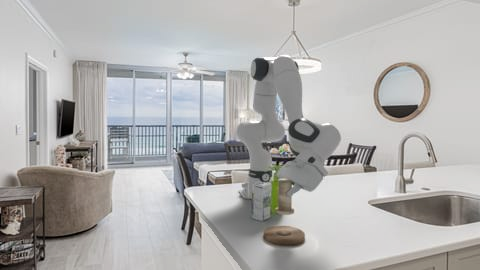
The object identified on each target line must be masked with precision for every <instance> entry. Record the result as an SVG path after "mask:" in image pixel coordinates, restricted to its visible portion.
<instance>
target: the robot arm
mask: <svg viewBox="0 0 480 270" xmlns="http://www.w3.org/2000/svg"><path fill="white" fill-rule="evenodd" d="M250 75H251V78H252V79H253V80H254V81H255V85H254V92H253V100H252V101H253V103H252V109H253V110H254V112H255V113H257V114H258V115H260V116H261V120H248V121H243V122H240V123H239V124H238V126H237V127H236V136H237V139H238V140H239V141H240V142H241V143H242V144H243V145H244V146H245V147H246V149H247V151H248V154H249V169H248V174H247V175H248V176H247V177H246V178H245V179H244V180H243V183H241V188H240V189H238V193H239V194H240V195H241V196H242V198H243V199H247V200H249V199H250V200H252V184H254V183H258V182H267V183H270V184H271V181H273V180H274V177H273V175H274V172H273V168H272V169H270V168H269V167H270V166H273V165H272V161H273V160H272V159H273V158H272V154H271V153H270V151H268V150H266V149H265V148H264V147H263V145H262V144H263V143H274V142H275V143H276V142H279V141H282V140H283V139H284V138H285V135H286V128H285V126H284V123H282V121H280V120H279V118H278V116H277V112H276V105H277V104H276V103H277V95H278V97H279V100H280V102H281V104H282V106H283V109H284V111H285V113H286V117H287V119H288V123H289V125H288V128H287V134H288V140H289V149H290V152H291V153H292V154H293V155H294V156H296V157H295V159H292V160H290V161H286V163H284V164H283V165H282V166H281V168H280V170H279V171H278V172H277V174H276V176H277V177H278V178H279V179H289V180H292V188H291V189H290V190H289V189H288V190H287V192H286V195H287V196H289V197H291V196H293V195H294V194H296V193H297V192H299V191H300V190H304V191H307V192H309V193H311V192H313V191H315V190H316V189H317V187H318V186H319V185H321V183H322V181H323V179H324V177H326V176H328V174H329V172H328V170H327V169H326V168H325V166H324V165H325V163H326V161H327V159H329V158H330V157H331V156H332V155H333V154H334V152H335V151H336V150H337V148H338V147H339V145H340V143H341V141H342V138H341V137H342V136H341V133H340V131H339V130H338V129H337V127H335V126H334V125H333V124H330V123H318V122H313V121H312V120H311V121H310V120H309V119H307V118H304V114H303V82H302V77H301V74H300V68H299V65H298V62H297V61H296V60H294V59H293V57H291V56H289V55H287V54H284V55H283V54H282V55H279V56H277V57H276V56H275V57H263V56H261V57H256V58H253V60H252V62H251V65H250ZM277 191H278V188H277Z"/></svg>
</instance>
